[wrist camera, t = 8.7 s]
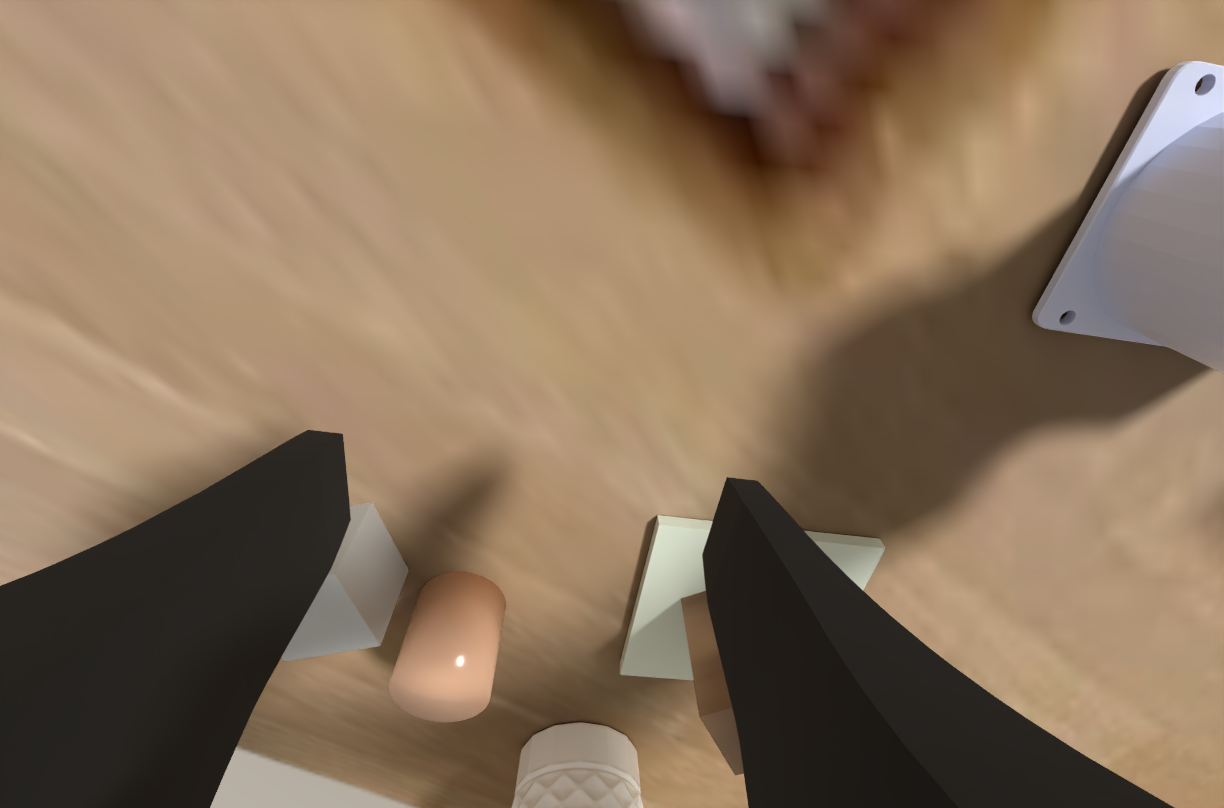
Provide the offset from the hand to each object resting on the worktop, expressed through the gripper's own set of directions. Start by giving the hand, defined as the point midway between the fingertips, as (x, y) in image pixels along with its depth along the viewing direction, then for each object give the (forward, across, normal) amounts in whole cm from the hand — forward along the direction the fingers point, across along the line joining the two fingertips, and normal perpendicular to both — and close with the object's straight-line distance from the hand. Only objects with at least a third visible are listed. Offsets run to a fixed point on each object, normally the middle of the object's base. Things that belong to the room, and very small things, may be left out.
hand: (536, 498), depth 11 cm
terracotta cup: (+10, +3, +15) cm, 18 cm away
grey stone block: (+10, +8, +12) cm, 18 cm away
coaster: (+10, -10, +14) cm, 20 cm away
